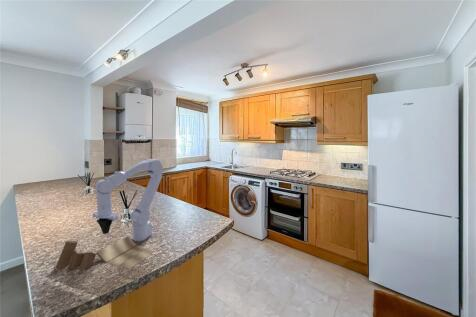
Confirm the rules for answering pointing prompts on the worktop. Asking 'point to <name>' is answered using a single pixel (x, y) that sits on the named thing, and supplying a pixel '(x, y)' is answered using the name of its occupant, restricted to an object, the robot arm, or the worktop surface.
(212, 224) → the worktop surface
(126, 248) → the oak plank
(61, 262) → the wooden block set
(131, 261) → the floor panel
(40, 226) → the worktop surface
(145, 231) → the robot arm
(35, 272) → the worktop surface
